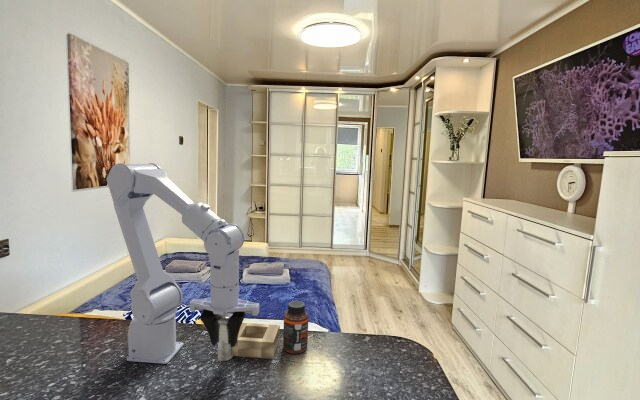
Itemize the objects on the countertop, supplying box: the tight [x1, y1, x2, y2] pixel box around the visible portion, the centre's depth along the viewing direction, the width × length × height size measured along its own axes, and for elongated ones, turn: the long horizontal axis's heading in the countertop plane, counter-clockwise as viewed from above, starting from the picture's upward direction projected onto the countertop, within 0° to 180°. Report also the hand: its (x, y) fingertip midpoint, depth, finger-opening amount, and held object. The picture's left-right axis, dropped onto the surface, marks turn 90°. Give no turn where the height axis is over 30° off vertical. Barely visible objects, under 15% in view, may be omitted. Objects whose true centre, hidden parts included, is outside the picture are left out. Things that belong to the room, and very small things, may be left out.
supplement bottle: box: [282, 300, 309, 355], centre depth 81 cm, size 6×6×11 cm
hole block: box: [232, 322, 281, 360], centre depth 81 cm, size 11×8×4 cm
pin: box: [215, 312, 234, 362], centre depth 71 cm, size 4×4×9 cm
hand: (224, 343), depth 72 cm, fingers closed on pin, 3 cm apart
